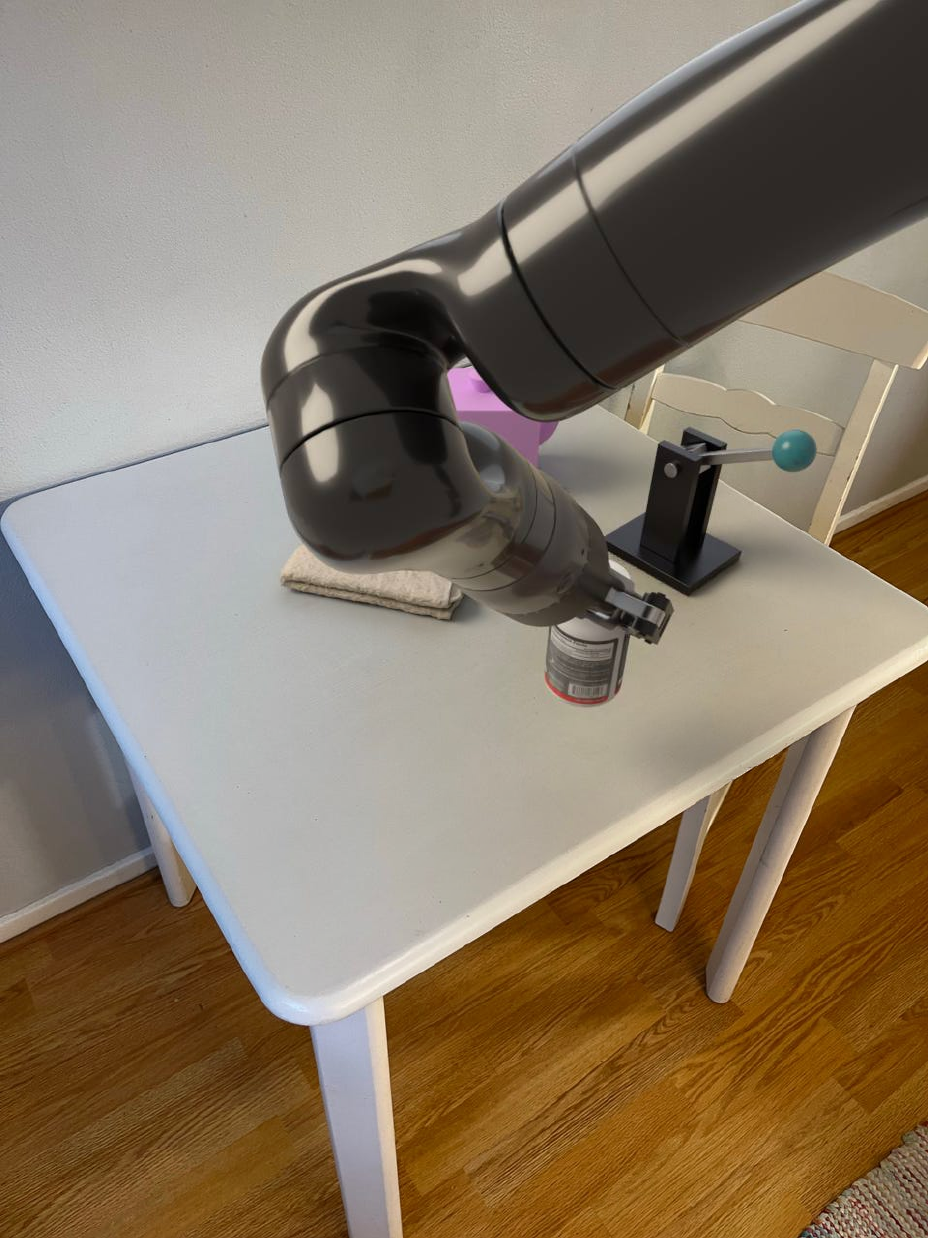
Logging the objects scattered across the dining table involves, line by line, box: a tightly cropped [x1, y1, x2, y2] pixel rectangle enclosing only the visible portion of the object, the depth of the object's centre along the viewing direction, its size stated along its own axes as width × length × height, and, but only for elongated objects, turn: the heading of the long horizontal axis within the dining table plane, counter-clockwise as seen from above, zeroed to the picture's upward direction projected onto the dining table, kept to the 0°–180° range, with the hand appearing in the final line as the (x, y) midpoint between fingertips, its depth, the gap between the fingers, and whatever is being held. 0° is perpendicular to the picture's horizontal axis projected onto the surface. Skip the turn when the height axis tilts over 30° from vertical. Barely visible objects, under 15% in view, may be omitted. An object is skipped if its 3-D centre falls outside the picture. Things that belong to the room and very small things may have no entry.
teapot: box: [447, 367, 560, 469], centre depth 99 cm, size 20×10×12 cm, turn 92°
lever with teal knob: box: [679, 429, 818, 474], centre depth 81 cm, size 14×4×4 cm, turn 43°
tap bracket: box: [604, 426, 742, 597], centre depth 88 cm, size 11×9×13 cm
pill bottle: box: [544, 559, 632, 708], centre depth 63 cm, size 6×6×10 cm
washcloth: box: [278, 543, 465, 620], centre depth 88 cm, size 12×18×3 cm, turn 76°
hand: (603, 605), depth 63 cm, fingers closed on pill bottle, 5 cm apart
